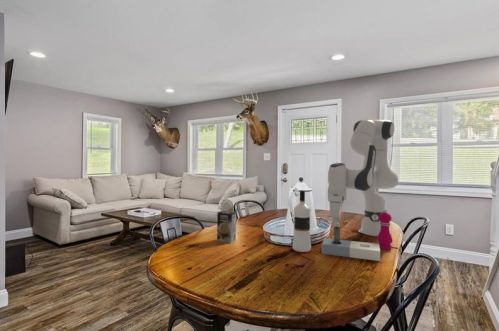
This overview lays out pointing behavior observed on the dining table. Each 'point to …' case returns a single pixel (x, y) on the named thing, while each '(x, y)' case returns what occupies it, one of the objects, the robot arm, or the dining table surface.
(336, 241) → the lock pin
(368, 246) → the pin board
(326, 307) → the dining table surface
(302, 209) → the vodka
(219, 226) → the coffee box
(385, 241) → the pepper mill
